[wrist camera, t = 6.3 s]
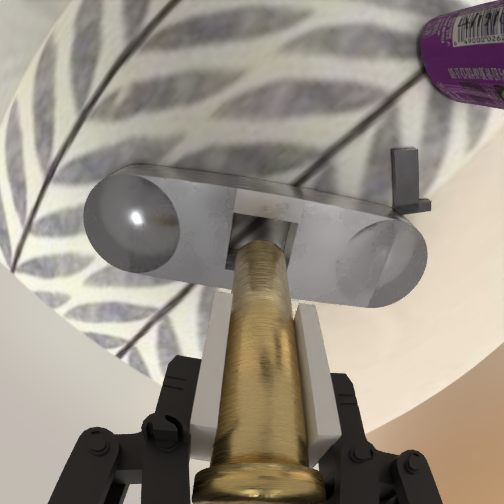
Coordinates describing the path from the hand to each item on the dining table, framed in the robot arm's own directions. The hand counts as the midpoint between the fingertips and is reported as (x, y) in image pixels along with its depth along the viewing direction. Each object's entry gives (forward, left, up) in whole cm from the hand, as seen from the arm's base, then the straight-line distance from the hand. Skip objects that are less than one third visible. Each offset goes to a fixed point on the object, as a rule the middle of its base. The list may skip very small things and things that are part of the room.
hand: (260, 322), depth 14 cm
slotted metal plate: (0, 0, -11) cm, 11 cm away
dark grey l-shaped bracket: (-6, +10, -11) cm, 16 cm away
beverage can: (-17, +12, -11) cm, 23 cm away
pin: (0, 0, -6) cm, 6 cm away
